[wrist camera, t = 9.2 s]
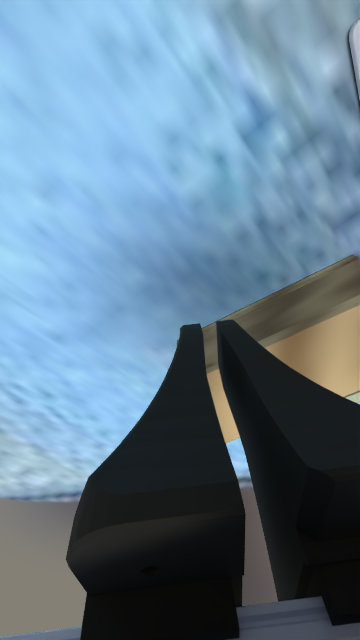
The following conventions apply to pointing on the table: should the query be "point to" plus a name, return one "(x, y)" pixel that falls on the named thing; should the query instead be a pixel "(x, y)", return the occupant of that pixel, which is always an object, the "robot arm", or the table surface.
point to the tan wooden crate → (301, 333)
